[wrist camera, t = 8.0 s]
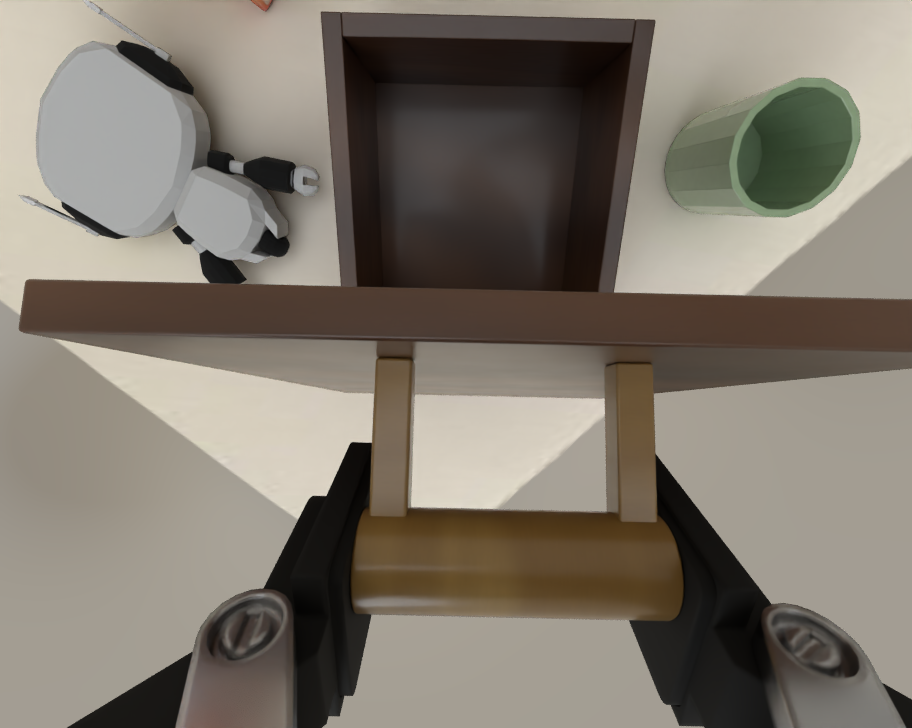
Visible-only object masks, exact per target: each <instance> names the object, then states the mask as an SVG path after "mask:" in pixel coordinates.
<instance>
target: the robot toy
mask: <svg viewBox="0 0 912 728" xmlns="http://www.w3.org/2000/svg"><path fill="white" fill-rule="evenodd" d="M83 1H84V2H85V4H86V5H87V6H88V7H89V8H91V9H92V10H94V11H95V12H97V13H98V14H101V15H103V16H104V17H105V18H107V19H108V20H110V21H111V22H113V23H114V24H116V25H117V26H119V27H120V28H122V29H123V30H125V31H126V32H127V33H129V34H130V35H132V36H133V37H135V38H136V39H138V40H139V41H141V42H142V43H144V44H145V45H146V46H148V47H149V48H151V49H152V50H151V49H149V48H147V47H144V46H141V45H138V44H134V43H130V42H126V41H121V42H120V43H119V44H118V45H117V46H114V45H109V44H104V43H100V42H95V41H91V42H89V43H87V44H84V45H82V46H80V47H77V48H76V49H74V50H73V51H72V52H71V53H70V54H69V55H68V56H67V57H66V59H65V60H64V61H63V62H62V63H61V65H60V66H59V67H58V68H57V70H56V72H55V74H54V76H53V77H52V79H51V81H50V83H49V85H48V86H47V88H46V90H45V92H44V94H43V95H42V97H41V99H40V108H39V116H38V124H37V132H36V155H37V162H38V166H39V169H40V172H41V175H42V178H43V181H44V183H45V185H46V186H47V188H48V189H49V190H50V192H51V193H52V194H53V196H54V197H56V198H57V199H59V200H61V202H62V207H63V208H64V209H65V210H66V211H67V212H68V213H70V214H71V215H72V216H73V217H74V218H75V219H74V218H72V217H70V216H68V215H65V214H63V213H61V212H59V211H57V210H55V209H53V208H51V207H48V206H46V205H44V204H42V203H40V202H38V200H36V199H33V198H31V197H29V196H22V195H19V196H20V198H21V199H22V200H23V201H24V202H26V203H29V204H31V205H33V206H37V207H39V208H42V209H44V210H46V211H48V212H50V213H52V214H55V215H57V216H59V217H61V218H63V219H65V220H68V221H70V222H72V223H74V224H76V225H78V226H81V227H83V228H85V229H87V230H86V232H89V233H91V234H93V235H95V236H99V235H102V236H106V237H111V238H115V239H120V238H126V237H135V238H138V237H143V236H148V235H154V234H156V233H159V232H162V231H164V230H167V229H168V228H170V227H171V226H172V225H174V224H175V223H176V222H177V224H178V226H177V227H175V228H174V229H173V232H174V233H175V234H176V235H177V237H178V238H179V239H180V240H181V242H182V243H183V244H192V246H193V247H194V248H195V249H196V251H197V252H198V253H199V255H200V262H201V267H202V272H203V275H204V276H205V277H206V279H207V280H208V281H209V282H210V283H217V284H241V283H242V282H244V281H245V280H247V279H246V278H245V277H244V275H243V274H242V273H241V272H240V270H239V269H238V268H237V266H236V265H235V264H234V263H233V261H232V260H237V259H241V260H245V261H249V262H253V263H259V262H261V261H263V260H265V259H267V258H269V257H271V256H276V257H281V256H284V255H285V254H286V253H287V251H288V249H289V241H288V239H287V238H286V237H285V236H286V235H288V221H287V220H286V219H285V218H284V216H283V215H282V214H281V213H280V211H279V210H278V209H277V207H276V204H275V201H274V199H273V198H272V196H271V195H270V194H269V193H268V192H267V191H266V189H270V190H275V191H280V192H285V193H290V194H291V193H292V192H294V191H295V190H296V191H298V192H299V193H300V194H302V195H303V196H314V195H315V194H316V193H317V192H318V190H319V186H312V185H306V183H307V178H311V179H315V180H316V181H319V175H318V173H317V171H316V169H314V168H311V167H309V166H307V165H303V166H300V167H297V168H296V165H295V164H294V163H293V162H290V161H285V160H280V159H275V158H270V157H261V158H258V159H254V160H251V161H248V162H246V163H245V162H240V161H235V159H234V157H233V156H232V155H231V154H229V153H225V152H220V151H215V150H211V151H210V144H211V132H210V128H209V123H208V118H207V114H206V112H205V111H204V110H203V108H202V107H201V106H200V104H199V103H198V102H197V100H196V99H195V98H194V96H193V86H192V85H191V84H190V82H189V81H188V80H187V79H186V77H185V76H184V75H183V73H182V72H181V71H180V70H179V68H177V67H176V66H175V65H173V64H172V63H170V59H171V57H172V56H171V55H170V54H168V53H167V52H165V51H164V50H162V49H161V48H159V47H157V48H156V47H155V46H153V45H152V44H151V43H149V42H148V41H146V40H145V39H143V38H142V37H140V36H139V35H137V34H136V33H135V32H133V31H132V30H130V29H129V28H127V27H126V26H124V25H123V24H121V23H120V22H119V21H117V20H116V19H114V18H113V17H111V16H110V15H108V14H107V13H105V12H104V11H103V9H101V8H100V7H98V6H97V5H95V4H94V3H92V2H90V1H87V0H83ZM153 50H154V51H153ZM236 173H237V174H236ZM238 174H242V175H246V176H247V177H248V178H250V179H251V180H252V181H254V182H255V183H254V182H252V181H251V180H249V179H247V178H245V177H243V176H241V175H238ZM256 183H257V184H256Z"/></svg>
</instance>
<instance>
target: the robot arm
mask: <svg viewBox="0 0 912 728" xmlns="http://www.w3.org/2000/svg"><path fill="white" fill-rule="evenodd" d="M371 453H372V443H358V442H352V443H351V444H350V445H349V447H348V450H347V452H346V454H345V456H344V459H343V461H342V463H341V465H340V467H339V470H338V472H337V474H336V476H335V478H334V481H333V483H332V485H331V487H330V489H329V492H328V494H327V496H312V497H311V498H310V499H309V500H308V502H307V504H306V506H305V508H304V510H303V512H302V514H301V516H300V518H299V519H298V521H297V523H296V525H295V528H294V529H293V532H292V533H291V535H290V537H289V539H288V541H287V543H286V545H285V547H284V549H283V551H282V553H281V555H280V557H279V559H278V561H277V563H276V565H275V567H274V569H273V571H272V573H271V575H270V577H269V579H268V581H267V583H266V585H265V587H264V588H263V589H255V590H249V591H246V592H244V593H241V594H238V595H235V596H234V597H232V598H230V599H229V600H227V601H225V602H224V603H222V604H221V605H220V606H219V607H217V608H216V609H215V610H214V611H213V612H212V613H211V614H210V615H209V616H208V617H207V619H206V620H205V622H204V623H203V624H202V626H201V627H200V630H199V632H198V635H197V637H196V641H195V645H194V649H193V652H191V653H189V654H188V655H186V656H184V657H183V658H181V659H179V660H178V661H176V662H175V663H173V664H171V665H170V666H168V667H166V668H165V669H163V670H161V671H160V672H158V673H156V674H155V675H153V676H151V677H150V678H148V679H146V680H145V681H143V682H142V683H140V684H138V685H137V686H135V687H133V688H132V689H130V690H128V691H127V692H125V693H123V694H122V695H120V696H118V697H117V698H115V699H113V700H112V701H110V702H108V703H107V704H105V705H104V706H102V707H100V708H99V709H97V710H95V711H94V712H92V713H90V714H89V715H87V716H85V717H84V718H82V719H80V720H79V721H77V722H75V723H74V724H72V725H71V726H69V727H68V728H322V727H323V726H324V725H325V724H327V720H328V716H340V712H341V708H342V704H343V699H344V696H353V694H354V692H355V689H356V685H357V680H358V675H359V670H360V666H361V661H362V657H363V651H364V647H365V643H366V638H367V633H368V629H369V624H370V619H371V614H356V613H355V612H354V611H353V608H352V604H351V595H350V574H351V561H352V552H353V545H354V539H355V534H356V530H357V526H358V522H359V519H360V516H361V514H362V512H363V510H364V509H365V508H366V507H368V506H369V498H370V476H371ZM655 457H656V490H657V515H658V516H660V517H661V518H662V519H663V520H664V521H665V523H666V524H667V525H668V527H669V529H670V530H671V532H672V534H673V537H674V539H675V541H676V544H677V547H678V550H679V554H680V558H681V562H682V567H683V575H684V598H683V604H682V608H681V610H680V613H679V614H678V616H677V617H676V618H675V619H673V620H671V621H641V620H629V621H630V624H631V627H632V629H633V632H634V634H635V636H636V639H637V641H638V644H639V646H640V649H641V651H642V654H643V656H644V659H645V661H646V664H647V666H648V669H649V671H650V674H651V676H652V679H653V681H654V684H655V686H656V689H657V691H658V693H659V696H660V698H661V700H662V701H663V703H665V704H666V705H671V707H672V709H673V711H674V714H675V716H676V718H677V721H678V723H679V726H704V727H705V728H912V700H911V699H910V698H908V697H906V696H904V695H903V694H901V693H899V692H897V691H895V690H894V689H892V688H890V687H888V686H887V685H885V684H883V683H882V682H881V680H880V679H879V677H878V675H877V673H876V671H875V669H874V667H873V666H872V664H871V662H870V660H869V658H868V657H867V655H866V654H865V653H864V651H863V650H862V648H861V647H860V646H859V644H857V642H856V641H855V640H853V638H852V637H851V636H849V635H848V634H847V633H846V632H845V631H844V630H843V629H841V628H840V627H838V626H837V625H836V624H834V623H833V622H832V621H830V620H829V619H827V618H825V617H823V616H821V615H819V614H818V613H816V612H814V611H811V610H809V609H805V608H803V607H800V606H798V605H792V604H786V603H778V604H771V603H770V602H769V600H768V599H767V598H766V596H765V595H764V594H763V593H762V591H761V590H760V589H759V587H758V586H757V585H756V583H755V582H754V581H753V579H752V578H751V577H750V576H749V574H748V573H747V572H746V570H745V569H744V568H743V566H742V565H741V564H740V563H739V561H738V560H737V559H736V557H735V556H734V555H733V553H732V552H731V551H730V550H729V548H728V547H727V546H726V544H725V543H724V542H723V541H722V539H721V538H720V537H719V535H718V534H717V533H716V531H715V530H714V529H713V528H712V526H711V525H710V524H709V523H708V521H707V520H706V519H705V517H704V516H703V515H702V514H701V512H700V511H699V509H698V508H697V507H696V506H695V504H694V503H693V502H692V500H691V499H690V498H689V497H688V495H687V494H686V493H685V491H684V490H683V489H682V487H681V486H680V485H679V484H678V483H677V481H676V480H675V479H674V477H673V476H672V475H671V473H670V472H669V471H668V469H667V468H666V467H665V465H664V464H663V463H662V462H661V460H660V459H659V458H658V456H657V455H656V454H655Z"/></svg>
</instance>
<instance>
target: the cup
mask: <svg viewBox="0 0 912 728" xmlns="http://www.w3.org/2000/svg"><path fill="white" fill-rule="evenodd" d="M860 138H861V137H860V116H859V110H858V109H857V107H856V105H855V103H854V101H853V100H852V98H851V96H850V94H849V92H848V91H847V90H846V89H844V88H842V87H841V86H839V85H837V84H836V83H834V82H832V81H831V80H829V79H826V78H798V79H795V80H793V81H790V82H787V83H785V84H782V85H779V86H776V87H774V88H771V89H768V90H765V91H763V92H760V93H757V94H754V95H752V96H749V97H746V98H744V99H741V100H738V101H735V102H733V103H730V104H727V105H724V106H722V107H719V108H717V109H714V110H712V111H709V112H706V113H704V114H702V115H700V116H698V117H697V118H695V119H693V120H692V121H691V122H690V123H688V124H687V125H686V126H685V127H684V128H683V129H682V130H681V132H680V133H679V134H678V135H677V137H676V138H675V140H674V142H673V144H672V146H671V148H670V150H669V153H668V156H667V160H666V165H665V179H666V184H667V188H668V190H669V193H670V195H671V196H672V198H673V199H674V200H675V202H676V203H677V204H678V205H680V206H681V207H682V208H684V209H686V210H688V211H690V212H694V213H698V214H717V215H738V216H759V217H789V216H792V215H795V214H798V213H800V212H803V211H806V210H808V209H811V208H813V207H814V206H815V205H817V204H818V203H819V202H820V201H822V200H823V199H824V198H826V197H827V196H828V195H829V194H831V193H832V192H833V191H834V190H835V189H836V188H837V186H838V185H839V183H840V182H841V181H842V179H843V178H844V176H845V175H846V174H847V172H848V171H849V169H850V168H851V166H852V164H853V161H854V157H855V154H856V151H857V148H858V145H859V142H860Z"/></svg>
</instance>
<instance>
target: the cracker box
mask: <svg viewBox="0 0 912 728" xmlns="http://www.w3.org/2000/svg"><path fill="white" fill-rule="evenodd" d="M251 1H252V2H253V3H254V4H256V5H257V6H258V7H259V8H261V9H262V10H263V11H267V9H268V7H269V6H270V4H271V1H272V0H251Z"/></svg>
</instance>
